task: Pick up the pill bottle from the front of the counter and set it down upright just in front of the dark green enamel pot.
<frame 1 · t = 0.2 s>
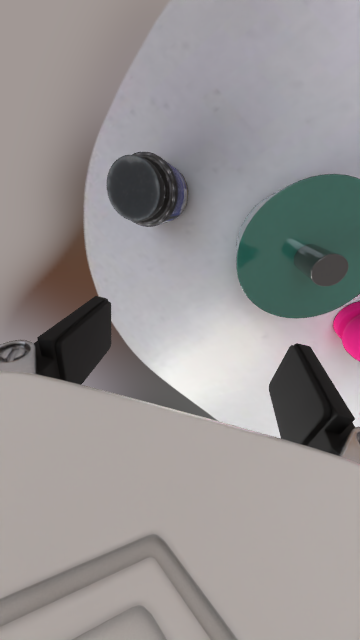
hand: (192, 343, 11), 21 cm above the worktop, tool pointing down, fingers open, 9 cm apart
pill bottle: (165, 195, 27), on the worktop
pepper mill: (357, 319, 30), on the worktop
pot lid: (305, 256, 19), point 8 cm above the worktop, touching pot
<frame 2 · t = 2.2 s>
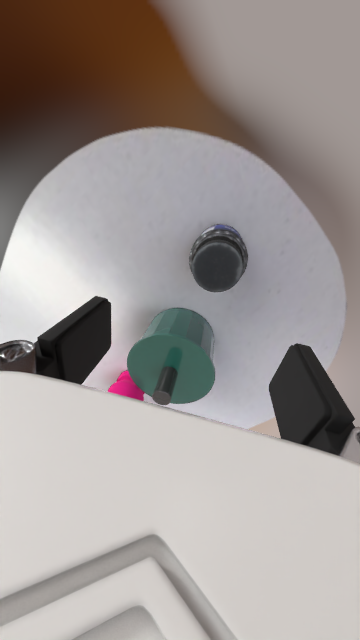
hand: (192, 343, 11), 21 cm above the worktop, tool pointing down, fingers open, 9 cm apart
pot: (180, 337, 37), on the worktop
pill bottle: (219, 247, 29), on the worktop
pepper mill: (133, 380, 45), on the worktop
pot lid: (170, 370, 30), point 8 cm above the worktop, touching pot
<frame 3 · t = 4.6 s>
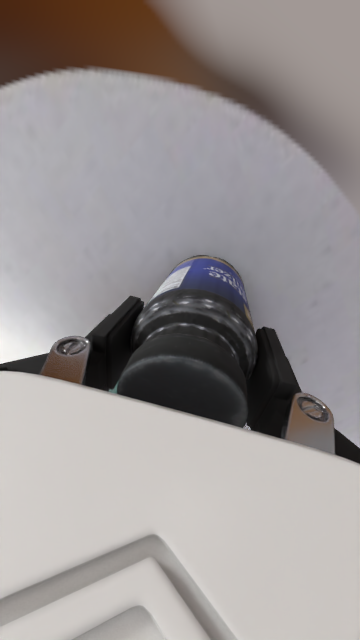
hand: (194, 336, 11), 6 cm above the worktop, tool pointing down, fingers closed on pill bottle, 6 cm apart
pill bottle: (203, 291, 17), on the worktop, touching gripper
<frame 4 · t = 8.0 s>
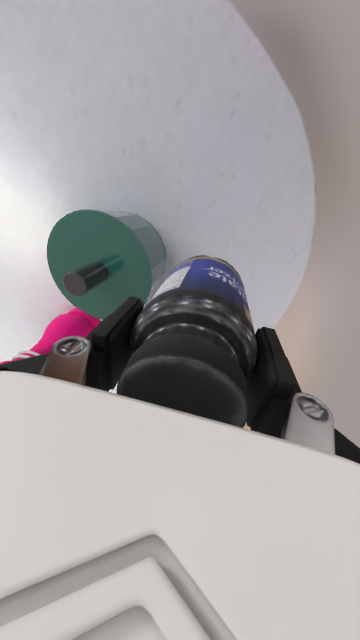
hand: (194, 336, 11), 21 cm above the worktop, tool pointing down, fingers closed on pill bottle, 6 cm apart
pot: (128, 255, 31), on the worktop
pill bottle: (203, 291, 17), point 14 cm above the worktop, touching gripper
pepper mill: (86, 321, 39), on the worktop
pot lid: (100, 270, 24), point 8 cm above the worktop, touching pot
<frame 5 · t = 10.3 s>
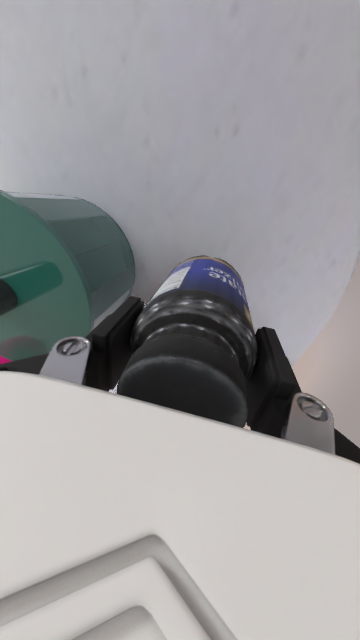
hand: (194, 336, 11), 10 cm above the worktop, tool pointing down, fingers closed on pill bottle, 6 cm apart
pot: (81, 261, 21), on the worktop
pill bottle: (203, 291, 17), point 4 cm above the worktop, touching gripper
pot lid: (8, 291, 14), point 8 cm above the worktop, touching pot
when the fingers open (6 cm above the worktop, at t = 11.7 s): pill bottle stays where it is, on the worktop.
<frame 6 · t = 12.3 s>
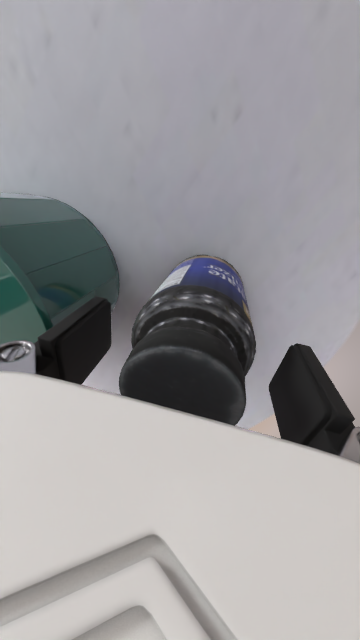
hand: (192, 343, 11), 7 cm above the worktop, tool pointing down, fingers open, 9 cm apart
pot: (57, 271, 18), on the worktop
pill bottle: (203, 290, 17), on the worktop
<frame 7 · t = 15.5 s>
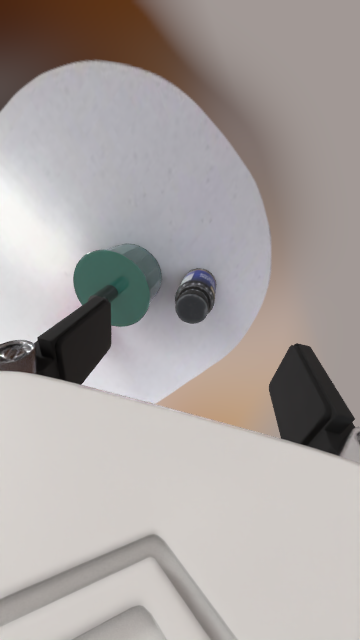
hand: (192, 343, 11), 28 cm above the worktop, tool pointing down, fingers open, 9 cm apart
pot: (132, 275, 40), on the worktop
pill bottle: (199, 283, 39), on the worktop
pot lid: (112, 290, 33), point 8 cm above the worktop, touching pot
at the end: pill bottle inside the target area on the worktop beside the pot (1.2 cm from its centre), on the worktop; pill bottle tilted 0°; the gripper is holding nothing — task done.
